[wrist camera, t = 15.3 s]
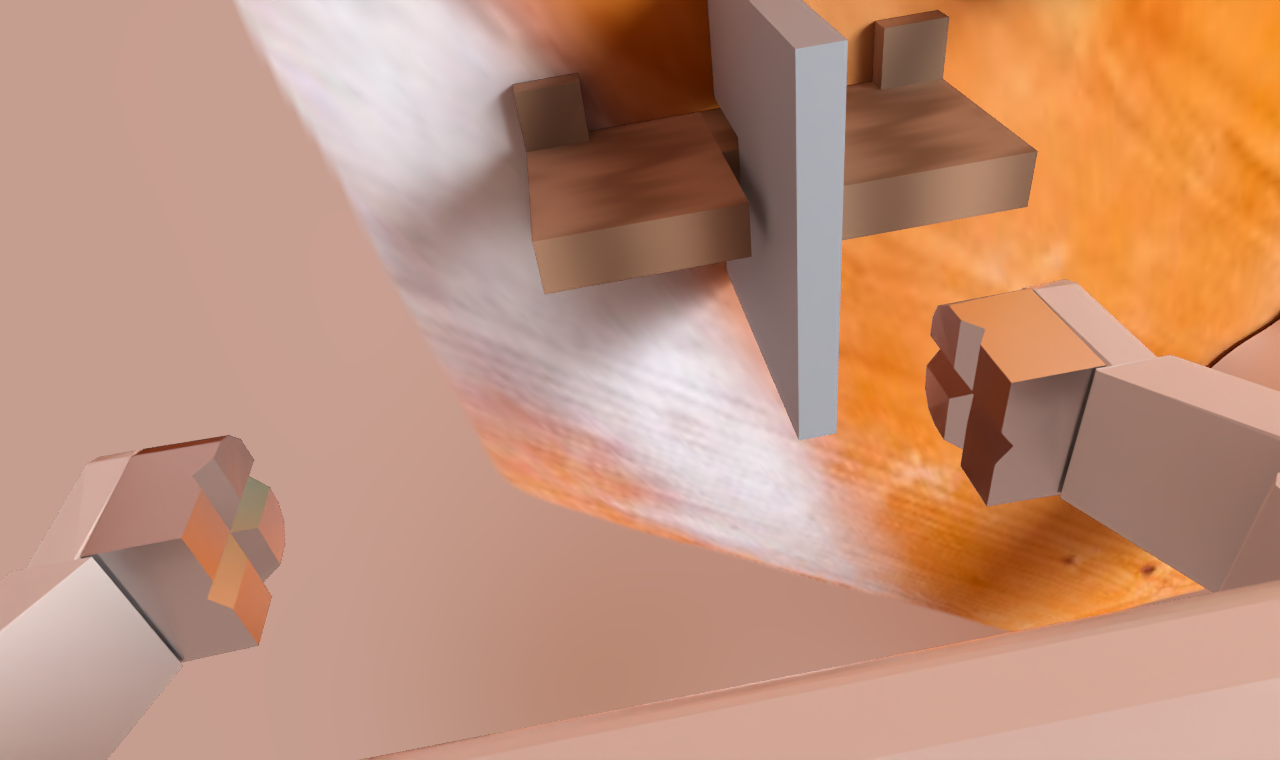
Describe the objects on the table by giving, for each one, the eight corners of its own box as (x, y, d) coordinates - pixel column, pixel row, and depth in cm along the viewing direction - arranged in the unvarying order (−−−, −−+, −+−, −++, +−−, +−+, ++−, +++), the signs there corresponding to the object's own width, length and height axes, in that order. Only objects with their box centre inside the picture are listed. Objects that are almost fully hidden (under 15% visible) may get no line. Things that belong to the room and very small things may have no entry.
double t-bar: (938, 10, 38) (1050, 79, 30) (923, 170, 43) (1016, 265, 35) (512, 84, 38) (516, 174, 30) (547, 237, 43) (557, 349, 35)
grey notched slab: (755, 266, 46) (836, 433, 35) (726, 271, 45) (798, 440, 35) (740, -53, 36) (847, 39, 25) (704, -47, 36) (795, 49, 25)
